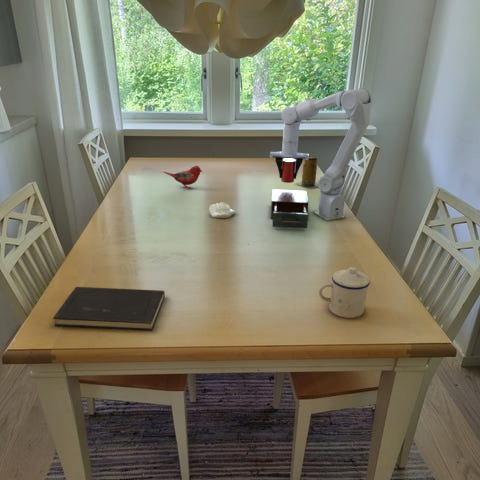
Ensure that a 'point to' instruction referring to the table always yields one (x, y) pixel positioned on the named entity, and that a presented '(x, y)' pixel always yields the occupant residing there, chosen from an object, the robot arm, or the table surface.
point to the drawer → (290, 215)
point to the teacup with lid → (347, 293)
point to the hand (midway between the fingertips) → (287, 177)
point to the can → (288, 170)
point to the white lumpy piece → (221, 210)
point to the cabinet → (288, 198)
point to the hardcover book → (110, 308)
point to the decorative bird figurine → (187, 176)
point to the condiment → (309, 172)
